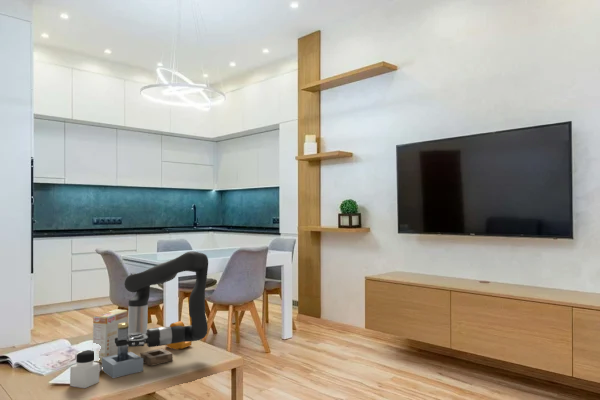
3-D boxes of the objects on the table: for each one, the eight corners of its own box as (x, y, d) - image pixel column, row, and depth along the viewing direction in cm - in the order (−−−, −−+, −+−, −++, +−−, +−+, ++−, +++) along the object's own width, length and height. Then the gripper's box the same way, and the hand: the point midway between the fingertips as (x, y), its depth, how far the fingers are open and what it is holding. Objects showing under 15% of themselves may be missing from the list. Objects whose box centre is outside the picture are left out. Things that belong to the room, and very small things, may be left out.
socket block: (140, 359, 194) (140, 353, 194) (161, 355, 201) (161, 348, 201) (150, 365, 186) (150, 358, 187) (172, 360, 193) (172, 353, 193)
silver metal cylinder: (115, 363, 181) (116, 323, 181) (125, 361, 183) (126, 322, 184) (119, 366, 178) (120, 325, 178) (129, 363, 180) (130, 323, 181)
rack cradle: (101, 370, 181) (101, 357, 181) (130, 363, 189) (131, 351, 189) (112, 378, 172) (113, 365, 172) (143, 370, 180) (143, 358, 180)
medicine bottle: (99, 382, 168) (100, 349, 168) (84, 388, 161) (85, 355, 162) (84, 379, 170) (85, 347, 171) (69, 386, 164) (70, 353, 164)
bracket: (192, 346, 215) (192, 321, 215) (181, 350, 208) (182, 324, 209) (175, 343, 220) (175, 318, 220) (164, 347, 213) (165, 321, 214)
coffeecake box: (114, 351, 206) (115, 308, 207) (128, 352, 204) (128, 309, 205) (91, 361, 191) (92, 315, 192) (105, 363, 189) (106, 316, 190)
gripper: (156, 324, 194) (113, 328, 186) (162, 331, 181) (117, 337, 173) (155, 341, 194) (113, 346, 186) (162, 350, 181) (117, 356, 173)
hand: (115, 342), depth 179 cm, fingers closed on silver metal cylinder, 4 cm apart
